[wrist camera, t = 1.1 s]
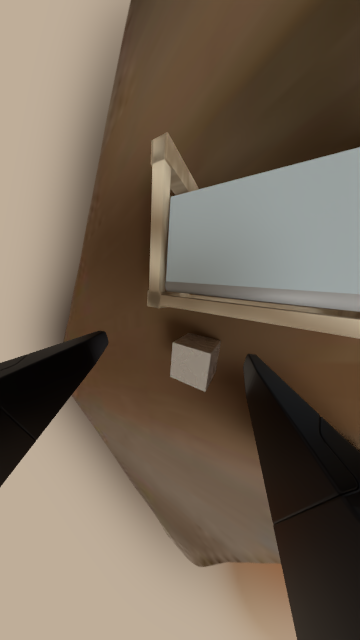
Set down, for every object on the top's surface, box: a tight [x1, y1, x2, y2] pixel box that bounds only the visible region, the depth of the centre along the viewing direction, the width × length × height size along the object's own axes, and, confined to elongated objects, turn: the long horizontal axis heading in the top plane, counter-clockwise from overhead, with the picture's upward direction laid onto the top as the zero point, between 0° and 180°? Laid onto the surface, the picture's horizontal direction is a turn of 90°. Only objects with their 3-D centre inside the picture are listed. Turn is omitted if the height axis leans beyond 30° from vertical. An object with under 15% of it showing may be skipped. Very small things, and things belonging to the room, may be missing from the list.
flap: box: [165, 147, 360, 312], centre depth 9 cm, size 8×14×1 cm, turn 85°
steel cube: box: [170, 333, 221, 392], centre depth 19 cm, size 5×5×5 cm
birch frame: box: [147, 132, 360, 338], centre depth 12 cm, size 14×18×8 cm
